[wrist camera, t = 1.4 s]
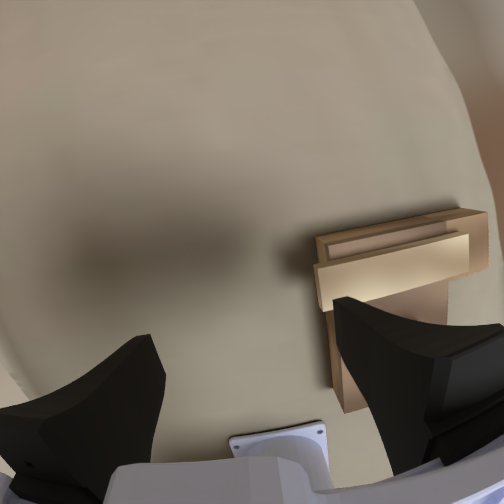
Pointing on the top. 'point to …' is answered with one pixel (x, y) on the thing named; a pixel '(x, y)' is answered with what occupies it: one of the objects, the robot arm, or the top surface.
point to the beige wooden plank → (392, 269)
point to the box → (455, 221)
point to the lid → (402, 304)
